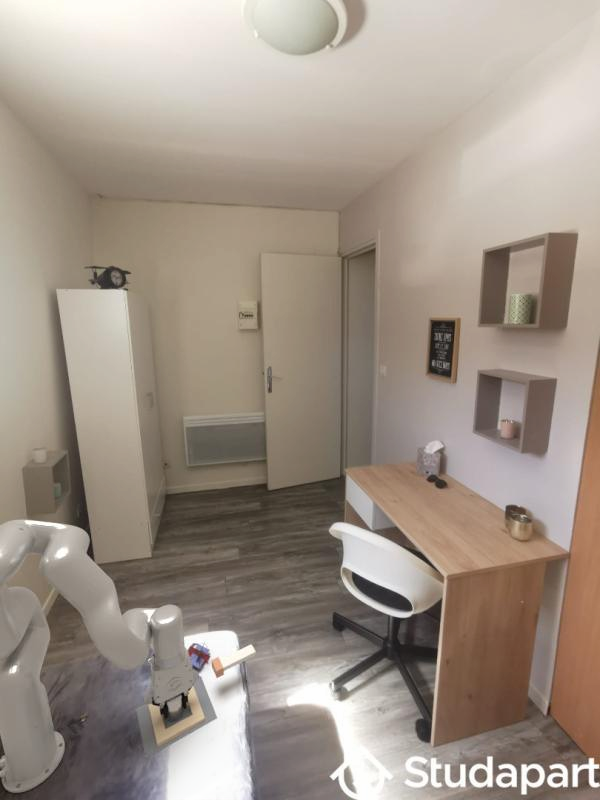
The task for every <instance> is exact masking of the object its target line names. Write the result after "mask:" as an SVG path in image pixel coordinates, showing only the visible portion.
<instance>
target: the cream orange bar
mask: <svg viewBox="0 0 600 800" xmlns="http://www.w3.org/2000/svg"><path fill="white" fill-rule="evenodd" d="M256 655H257V652H256V649H255V648H254V646H253V645H252V644H249V645H246V646H245V647H243V648H241V649H239V650H238V649H237V650H236V651H234V652H232V653H230V654H229V655H226V656H225V657H222V658H219V656H216V657H215V658H213V659H211V668H212V670H213V673H214V674H215V677H216V679H218V678H221V677H223V676H224V675H225V674H224V672H225V671H227V670H229V669H231V668H234V667H236V666H237V665H239V664H241V663H243V662H245V661H246V660H249V659H251V658H252V657H255V656H256Z"/></svg>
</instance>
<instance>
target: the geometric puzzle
mask: <svg viewBox="0 0 600 800" xmlns="http://www.w3.org/2000/svg"><path fill="white" fill-rule="evenodd" d="M201 644H203V645H201ZM204 645H205V646H204ZM206 646H207V644H206V642H200V643H194V642H193V643H192V644H190V646H189V647H188V648H187V651H188V653H189V656H190V660H191V665H192V667H196V669H198V670H201V669H202V667H204V665H205V664H209V661H210V659H211V655H210V651H211V650H210V649H209V648H208V647H206Z"/></svg>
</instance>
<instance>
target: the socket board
mask: <svg viewBox="0 0 600 800" xmlns="http://www.w3.org/2000/svg"><path fill="white" fill-rule="evenodd" d="M186 705H187V708H186V709H184V708H183V714H182V716H181V717H180V718H179V719H178V720H176V721H169V720H168V719H164V715H161V714H160V708H159V706H155V705H152V704H145V703H144V704H142V705H139V706H138V707H135V710H136V716H137V723H138V726H139V731H140V736H141V737H140V738H141V742H142V746H143V750H144V751H143V753H144V757H145V759H148V758H149V757H151V756H153V755H154V754H156V753H158V752H160V751H162V750H163V749H165V748H167V747H168V746H171V745H172V744H174V743H175V742H178V741H179V740H181V739H183V738H185V737H187V736H188V735H190V734H192V733H194V732H196V731H198V729H200V728H203V727H204V726H206V725H208V724H210V723H211V722H213V721H214V720H216V719H218V716H217V714H216V712H215V708H214V706H213V703H212V701H211V698H210V695H209V693H208V691H207V688H206V685H205V683H204V680H203V678H202V676H200V677H199V679H198V680H197V681H196V682H194V685H193V686H192V688H191V689H190V691H189V694H188V702H186Z"/></svg>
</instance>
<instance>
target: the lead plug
mask: <svg viewBox="0 0 600 800" xmlns="http://www.w3.org/2000/svg"><path fill="white" fill-rule="evenodd" d="M165 703H166V707H167V719H168V720H169V721H176V720H178V719H179V718H180V717H181V716H182V714H183V700H182V693H180V694H179V695H177V696H175V697H172V698H170V699H168V700H166V701H165Z"/></svg>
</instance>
